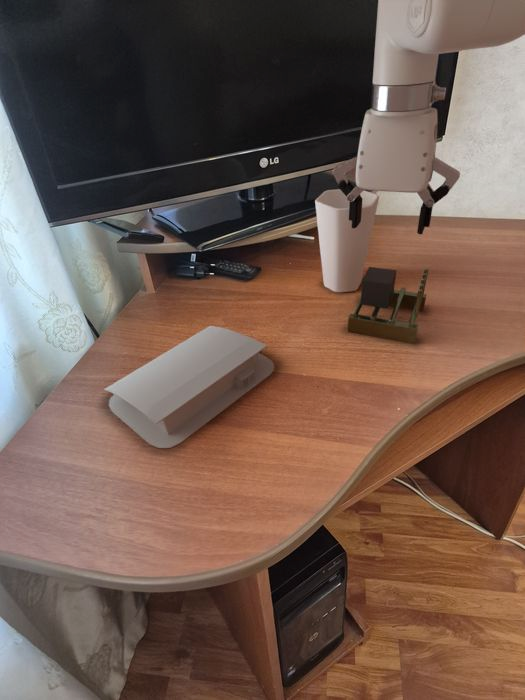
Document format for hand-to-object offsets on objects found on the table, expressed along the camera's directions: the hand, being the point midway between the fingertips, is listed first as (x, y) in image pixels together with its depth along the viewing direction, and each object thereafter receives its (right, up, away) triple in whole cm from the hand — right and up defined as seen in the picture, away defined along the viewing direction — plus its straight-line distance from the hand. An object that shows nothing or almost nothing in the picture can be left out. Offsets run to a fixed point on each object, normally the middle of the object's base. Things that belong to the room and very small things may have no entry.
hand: (387, 227), depth 66 cm
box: (+1, -10, +9) cm, 13 cm away
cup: (-3, -5, +21) cm, 22 cm away
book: (-29, -24, 0) cm, 38 cm away
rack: (+3, -13, +10) cm, 17 cm away
